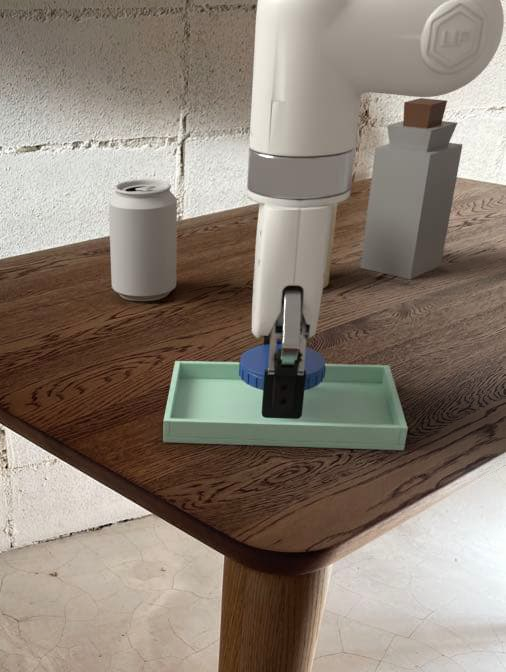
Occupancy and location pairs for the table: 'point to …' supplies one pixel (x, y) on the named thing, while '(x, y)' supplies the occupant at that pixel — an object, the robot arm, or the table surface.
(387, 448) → the tray
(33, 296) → the table surface
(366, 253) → the perfume bottle
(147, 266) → the can
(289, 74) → the robot arm
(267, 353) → the jar lid
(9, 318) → the table surface
